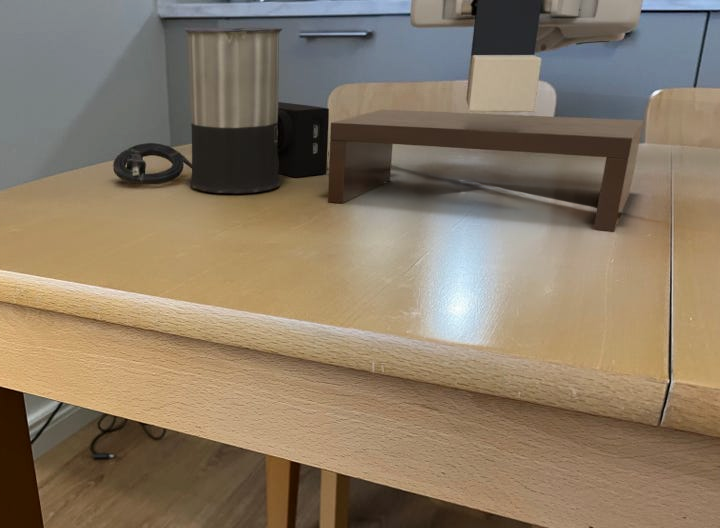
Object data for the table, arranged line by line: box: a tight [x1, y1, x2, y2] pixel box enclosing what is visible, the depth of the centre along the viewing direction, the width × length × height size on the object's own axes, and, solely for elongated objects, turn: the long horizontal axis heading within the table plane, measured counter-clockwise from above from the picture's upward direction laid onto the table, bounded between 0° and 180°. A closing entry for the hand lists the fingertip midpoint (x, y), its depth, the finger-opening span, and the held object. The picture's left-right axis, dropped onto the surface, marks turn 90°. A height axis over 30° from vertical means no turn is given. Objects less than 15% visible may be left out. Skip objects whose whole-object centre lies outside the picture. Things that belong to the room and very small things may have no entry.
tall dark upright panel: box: [465, 0, 542, 113], centre depth 62 cm, size 11×5×15 cm, turn 166°
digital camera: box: [277, 101, 330, 178], centre depth 84 cm, size 10×5×7 cm, turn 31°
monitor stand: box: [327, 109, 644, 232], centre depth 67 cm, size 13×24×7 cm, turn 61°
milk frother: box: [112, 26, 283, 195], centre depth 74 cm, size 14×16×15 cm
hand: (506, 3), depth 64 cm, fingers closed on tall dark upright panel, 5 cm apart
